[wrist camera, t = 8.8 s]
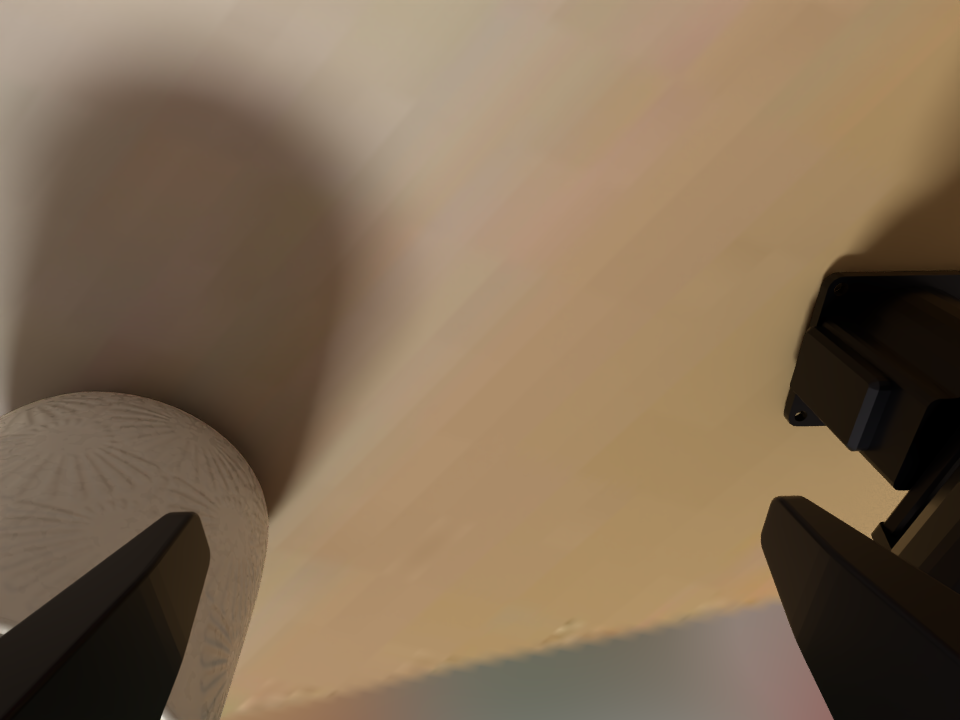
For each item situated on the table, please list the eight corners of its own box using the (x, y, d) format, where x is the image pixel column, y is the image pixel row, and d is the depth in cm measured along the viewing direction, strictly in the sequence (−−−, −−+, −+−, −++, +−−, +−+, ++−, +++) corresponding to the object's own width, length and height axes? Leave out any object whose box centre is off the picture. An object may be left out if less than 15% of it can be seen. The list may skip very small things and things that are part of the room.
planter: (-72, 475, 24) (-409, 756, 15) (98, 293, 21) (-203, 510, 11) (180, 619, 29) (46, 901, 20) (353, 490, 26) (292, 760, 16)
